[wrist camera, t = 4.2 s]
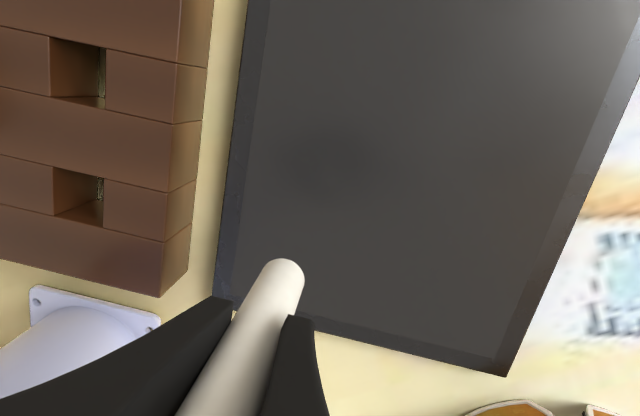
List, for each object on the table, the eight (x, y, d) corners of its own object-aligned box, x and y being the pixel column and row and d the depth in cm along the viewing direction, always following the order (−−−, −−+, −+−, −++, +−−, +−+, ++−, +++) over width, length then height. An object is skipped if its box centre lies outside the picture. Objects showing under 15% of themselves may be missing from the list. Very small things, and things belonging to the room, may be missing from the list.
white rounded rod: (303, 292, 13) (221, 551, 6) (263, 283, 14) (130, 526, 6) (311, 255, 13) (230, 484, 5) (269, 245, 13) (132, 457, 5)
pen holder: (187, 271, 21) (159, 299, 18) (47, 236, 21) (-2, 259, 18) (215, -3, 16) (183, -23, 14) (38, -38, 17) (-29, -65, 14)
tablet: (499, 365, 20) (506, 379, 19) (216, 295, 21) (209, 305, 20) (711, -125, 13) (739, -143, 12) (280, -199, 14) (274, -221, 13)
